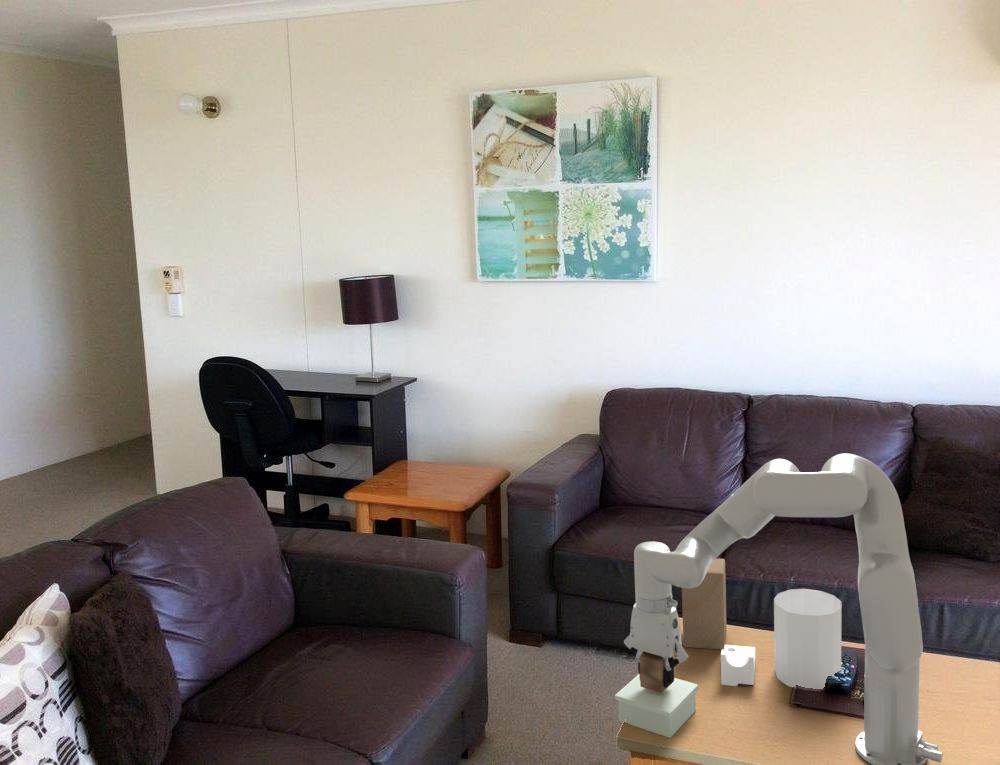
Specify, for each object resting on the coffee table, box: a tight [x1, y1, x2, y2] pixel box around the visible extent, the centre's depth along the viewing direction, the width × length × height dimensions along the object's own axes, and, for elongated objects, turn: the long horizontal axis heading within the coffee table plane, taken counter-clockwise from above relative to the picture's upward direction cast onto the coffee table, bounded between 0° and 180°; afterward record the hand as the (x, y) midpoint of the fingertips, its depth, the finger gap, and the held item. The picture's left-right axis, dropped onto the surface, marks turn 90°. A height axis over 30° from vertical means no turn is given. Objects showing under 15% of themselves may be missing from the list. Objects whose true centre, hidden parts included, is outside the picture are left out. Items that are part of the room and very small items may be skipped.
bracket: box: [720, 644, 756, 687], centre depth 201 cm, size 13×7×8 cm, turn 162°
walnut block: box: [639, 652, 668, 693], centre depth 184 cm, size 5×5×7 cm
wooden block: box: [681, 557, 727, 651], centre depth 217 cm, size 10×10×20 cm
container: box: [773, 588, 842, 689], centre depth 197 cm, size 14×14×18 cm
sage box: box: [614, 673, 699, 739], centre depth 186 cm, size 13×13×6 cm
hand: (656, 680), depth 185 cm, fingers closed on walnut block, 5 cm apart
